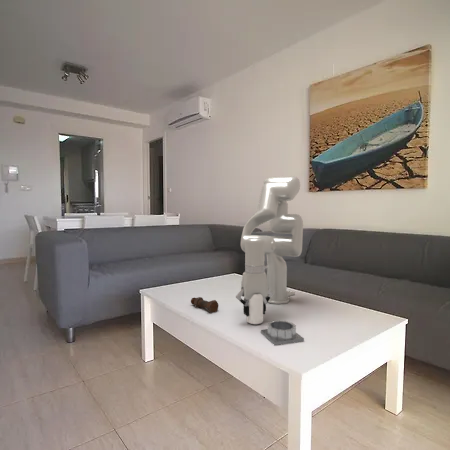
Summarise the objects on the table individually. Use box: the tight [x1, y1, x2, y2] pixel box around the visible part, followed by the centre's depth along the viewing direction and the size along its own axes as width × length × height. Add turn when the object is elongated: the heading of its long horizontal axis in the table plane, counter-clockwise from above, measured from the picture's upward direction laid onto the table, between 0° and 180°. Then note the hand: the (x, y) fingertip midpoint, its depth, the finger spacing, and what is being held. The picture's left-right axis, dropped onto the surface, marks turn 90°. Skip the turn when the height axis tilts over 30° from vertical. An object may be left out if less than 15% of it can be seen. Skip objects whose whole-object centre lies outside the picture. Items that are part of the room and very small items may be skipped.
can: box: [246, 293, 264, 326], centre depth 120 cm, size 6×6×12 cm
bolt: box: [190, 296, 219, 314], centre depth 137 cm, size 6×5×15 cm
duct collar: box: [260, 320, 305, 346], centre depth 106 cm, size 11×11×4 cm
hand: (254, 313), depth 120 cm, fingers closed on can, 6 cm apart
